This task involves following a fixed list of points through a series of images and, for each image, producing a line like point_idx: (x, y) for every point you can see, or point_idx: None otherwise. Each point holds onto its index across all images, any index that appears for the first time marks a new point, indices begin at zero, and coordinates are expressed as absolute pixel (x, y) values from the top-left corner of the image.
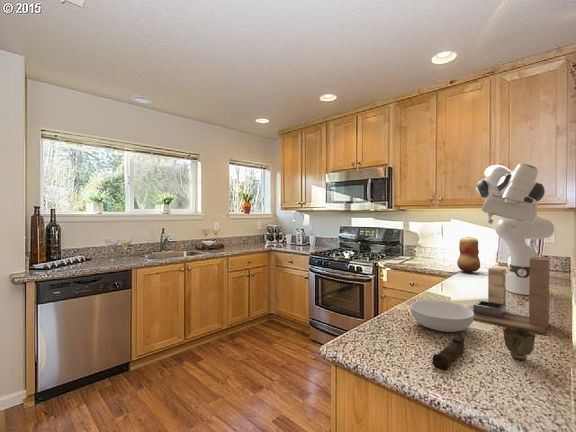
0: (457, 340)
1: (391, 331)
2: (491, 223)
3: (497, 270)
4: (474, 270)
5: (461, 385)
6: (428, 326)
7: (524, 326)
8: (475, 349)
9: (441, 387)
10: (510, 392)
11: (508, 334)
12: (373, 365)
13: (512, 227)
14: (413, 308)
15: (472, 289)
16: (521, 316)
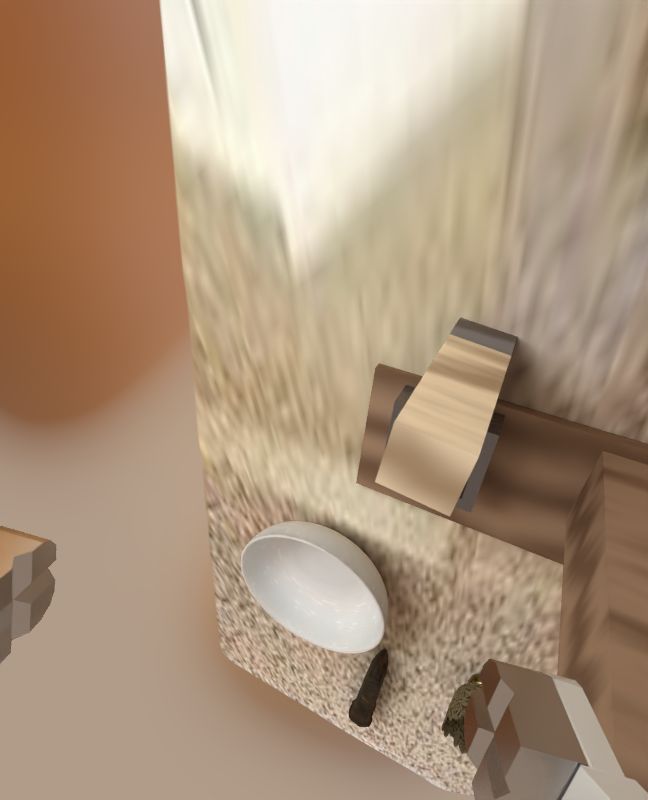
0: (371, 693)
1: None
2: (47, 566)
3: (425, 501)
4: None
5: (395, 734)
6: (310, 604)
7: (541, 542)
8: (407, 652)
9: (374, 735)
10: (453, 751)
11: (452, 736)
12: (292, 692)
13: (477, 756)
14: (253, 565)
15: None
16: (562, 439)
